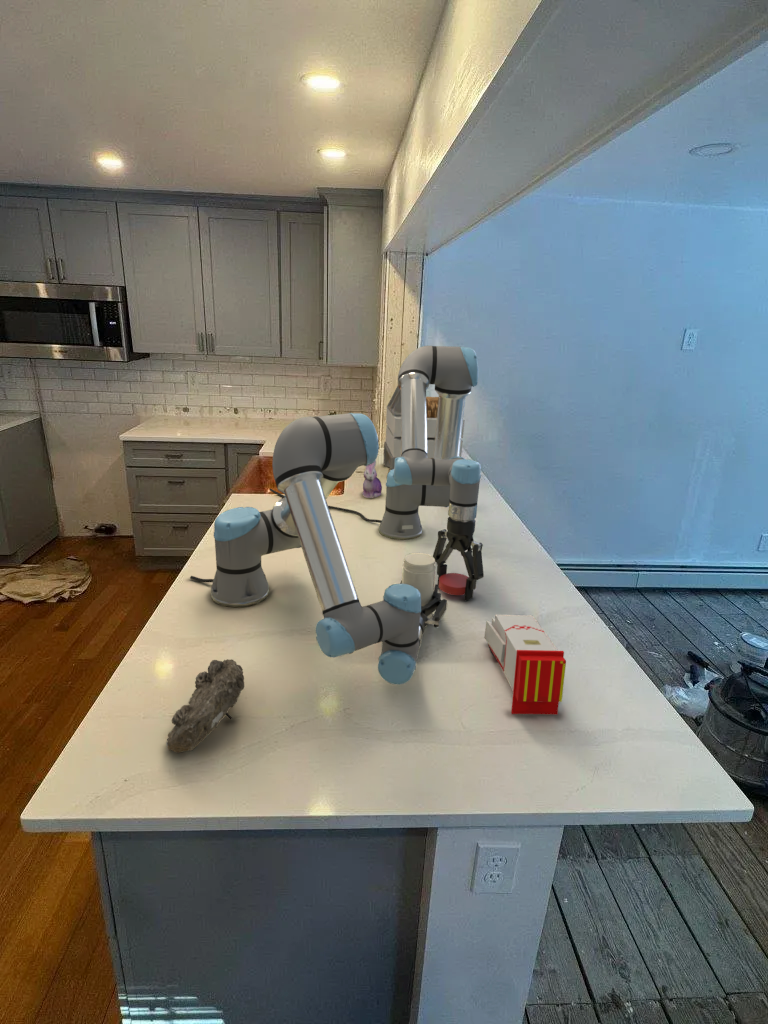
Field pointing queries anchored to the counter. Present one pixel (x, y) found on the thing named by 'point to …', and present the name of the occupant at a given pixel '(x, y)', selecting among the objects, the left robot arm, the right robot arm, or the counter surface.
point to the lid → (453, 583)
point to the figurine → (371, 482)
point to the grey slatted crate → (394, 428)
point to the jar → (420, 575)
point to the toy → (527, 663)
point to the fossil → (206, 705)
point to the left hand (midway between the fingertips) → (419, 586)
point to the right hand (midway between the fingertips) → (454, 592)
